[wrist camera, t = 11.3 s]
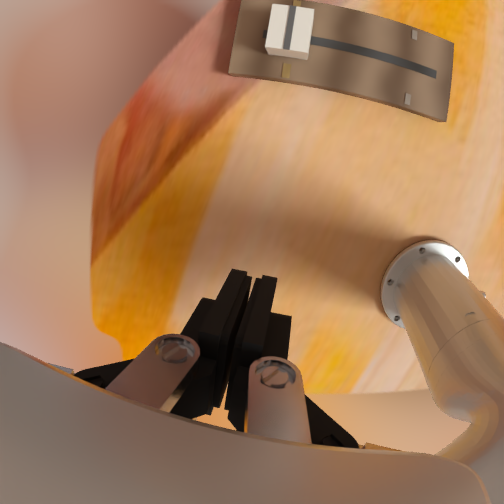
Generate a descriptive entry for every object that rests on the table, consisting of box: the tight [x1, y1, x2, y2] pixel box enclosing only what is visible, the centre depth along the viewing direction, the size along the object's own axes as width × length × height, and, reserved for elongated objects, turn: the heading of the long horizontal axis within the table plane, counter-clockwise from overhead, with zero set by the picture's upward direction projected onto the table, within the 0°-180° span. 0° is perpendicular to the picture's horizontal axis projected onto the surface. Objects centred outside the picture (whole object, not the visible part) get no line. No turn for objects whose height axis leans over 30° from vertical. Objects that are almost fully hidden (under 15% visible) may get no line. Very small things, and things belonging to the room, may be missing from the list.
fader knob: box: [265, 4, 314, 60], centre depth 25 cm, size 4×5×3 cm
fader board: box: [228, 0, 454, 122], centre depth 27 cm, size 24×10×2 cm, turn 81°
